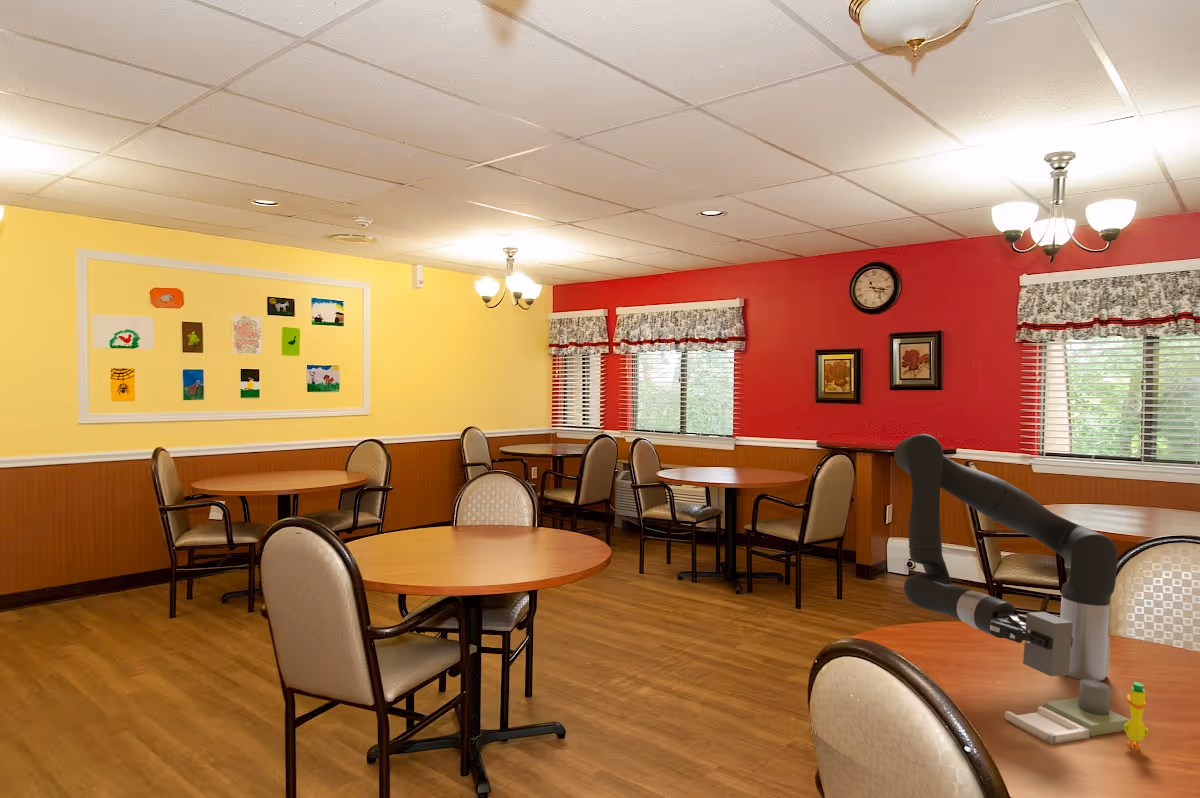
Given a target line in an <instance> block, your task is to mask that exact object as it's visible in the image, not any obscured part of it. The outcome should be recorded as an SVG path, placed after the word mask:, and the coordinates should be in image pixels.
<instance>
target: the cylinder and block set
mask: <svg viewBox="0 0 1200 798" xmlns="http://www.w3.org/2000/svg"><path fill="white" fill-rule="evenodd" d="M1111 690H1112V688H1111V686H1110V685H1108V683H1105V682H1102V681H1095V680H1089V679H1083V680H1082V679H1079V692H1078V693H1079V694H1078V696H1077V697H1073V698H1064V699H1057V700H1050V701H1044V704H1043V706H1037V712H1030V713H1024V714H1016V713H1014V712H1012V711H1010V710H1006V711H1005V713H1004V720H1006V721H1007V722H1009V721H1010V722H1009V723H1012V724H1013V725H1014V726H1015V725H1016V727H1019V728H1021V729H1023V730H1024V731H1026V732H1028V733H1030V734H1031V735H1034V736H1036V737H1038V738H1039V739H1041V740H1043V741H1044V742H1046V743H1048V744H1049V745H1054V744H1055V745H1056V744H1061V743H1068V742H1074V741H1079V740H1085V739H1086V740H1087V739H1090V736H1091V737H1093V736H1100V735H1105V734H1111V733H1116V732H1122V731H1124V724H1125V723H1126V722H1127V721H1129V720H1130V719H1131V718H1129V717H1126V716H1124V715H1121V714H1119V713H1116V712H1114V711H1112V710H1111V709H1110V707H1111V703H1110V702H1111ZM1124 732H1125V731H1124Z"/></svg>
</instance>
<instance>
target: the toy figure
mask: <svg viewBox="0 0 1200 798" xmlns="http://www.w3.org/2000/svg"><path fill="white" fill-rule="evenodd" d="M1144 687H1145V686H1144V684H1143V683H1141V682H1138V681H1133V682H1132V686H1130V693H1128V694H1127V695H1126V697H1127V702H1128V704H1129V710H1130V718H1129V719H1130V720H1129V721H1127V722H1126V723H1125V724H1124V732H1125V734H1126V736H1127V738H1129V739H1128V740H1127V742H1126V745H1127V747H1128V748H1130V749H1132V750H1134V749H1135V750H1137V751H1140V750H1141V749H1140V748H1141V744H1140V742H1141V741H1143V739H1145V737H1148V736H1149V732H1150V731H1149V728H1147V727H1146V726H1145V724H1144V722H1143V721H1142V719H1143V714H1144V710H1145V707H1146V706H1147V703H1146V701H1145V699H1146V690H1145V689H1144Z"/></svg>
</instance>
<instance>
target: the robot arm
mask: <svg viewBox="0 0 1200 798" xmlns="http://www.w3.org/2000/svg"><path fill="white" fill-rule="evenodd" d="M940 442H941V441H939V440H938V439H937V438H936V437H935V436H932V435H930V434H927V433H921V434H916V435H912V436H910V437H907V438H905V439H903V440H901V441H900V442H899V443H898V444H897V445H896V447H895V448H894V449H895V450H894V453H893V454H894V460H895V463H896V464H897V466H898V467H899V468H900V469H901V470H902V471H904V472H905V473H907V474H909V475H910V480H911V504H910V509H909V517H908V529H907V530H908V533H907V534H908V548H909V559H910V560H911V562H914V563H917V564H919V565H920V564H921V565H922V566H923V569H924V570H923V571H924V572H925V574H914V575H911V576H909V577H907V579H906V580H904V584H903V591H904V594H905V595H904V596H905V597H906V598H907V600H908V602H910V603H911V604H913V605H914V606H916V607H918V608H920V609H921V608H922V609H925V610H929V611H932V612H936V613H941V614H944V615H945V614H946V615H948V616H950V617H952V618H954V619H957V620H959V621H960V622H961V621H962V622H963V623H965V624H967V625H968V626H970V627H972V628H974V629H977V630H979V631H981V632H983V633H986V634H987V635H990V636H993V637H995V638H997V639H1006V640H1009V641H1012V642H1016V643H1018V644H1021V643H1022V642H1024V643H1025V642H1026V643H1033V644H1036V645H1038V646H1040V647H1043V648H1045V649H1052V642H1053V640H1052V638H1050V637H1048V636H1045V635H1043V634H1040V633H1038V632H1035V631H1034V632H1033V630H1031V629H1029V628H1027V627H1026V618H1027V615H1024V614H1020V613H1019V612H1018V611H1017V609H1016V607H1015V606H1014V605H1013V604H1012V603H1011V602H1010V601H1009V602H1008V601H1007V600H1006V601H1005V600H1003V599H1000V598H998V597H995V596H991V595H990V594H986V593H984V592H980V591H976V590H972V589H969V588H967V587H964V586H962V585H958V584H953V583H952V579H951V577H950V574H949V571H948V568H947V565H946V562H945V560H944V556H943V544H942V532H941V512H940V511H941V510H940V507H941V506H940V505H941V503H940V502H941V489H942V490H944V491H946V492H947V493H949V494H951V496H952V497H955V498H956V499H958V500H960V502H962V503H964V504H966V505H968V506H969V507H970V508H973V509H974V510H976V511H978V512H979V513H981V514H982V515H984V516H986V517H988V518H990V519H991V520H992V521H995V522H997V523H998V524H1001V525H1002V526H1005V527H1007V528H1009V529H1012V530H1013V531H1016V532H1018V533H1021V534H1024V535H1027V536H1029V537H1031V538H1033V539H1035V540H1037V541H1039V542H1040V543H1042V544H1043V545H1045V546H1046V547H1048V548H1049V549H1050V550H1052V551H1053V552H1054V553H1056V554H1058V555H1059V556H1061V557H1062V558H1063V559H1064V560H1066V561H1067V562H1068V563H1070V569H1069V577H1068V579H1067V580H1068V581H1066V582H1064V583H1063V584H1062V586H1061V600H1060V616H1059V617H1060V618H1063V619H1065V620H1068V621H1071V622H1073V627H1072V640H1071V653H1070V666H1069V675H1067V676H1068V677H1071V678H1074V679H1079V680H1083V679H1089V680H1095V681H1099V682H1102V681H1104V680H1105V679H1106V677H1109V676H1108V675H1109V663H1110V662H1109V661H1110V646H1111V645H1110V643H1111V635H1109V626H1110V625H1109V621H1110V607H1111V606H1110V605H1111V604H1110V603H1111V597H1112V595H1113V594H1114V592H1115V587H1116V582H1117V572H1118V563H1119V562H1118V549H1117V545H1116V544H1115V543H1114V541H1113V540H1112V539H1111V538H1110V537H1108V536H1107V535H1104V534H1103V533H1100V532H1098V531H1096V530H1093V529H1091V528H1088V527H1085V526H1082V525H1080V524H1078V523H1076V522H1074V521H1073V522H1072V521H1070V520H1068V519H1066V518H1064V517H1062V516H1059V515H1058V514H1056V513H1054V512H1052V511H1050V510H1049V509H1048V508H1046V507H1045V506H1043V504H1041V503H1040V502H1039V501H1038V500H1036V499H1035V498H1033V497H1032V496H1030V495H1029V494H1028V493H1026V492H1025V491H1023V490H1022V489H1020V488H1018V487H1016V486H1014V485H1013V484H1011V483H1009V482H1007V481H1006V480H1004V479H1002V478H999V477H998V476H995V475H993V474H990V473H987V472H985V471H981V470H978V469H975V468H972V467H969V466H966V465H963V464H960V463H958V462H956V461H954V460H952V459H950V458H949V457H947V456H946V455H944V449H943V446H942V444H941V443H940Z"/></svg>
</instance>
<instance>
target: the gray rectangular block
mask: <svg viewBox="0 0 1200 798" xmlns="http://www.w3.org/2000/svg"><path fill="white" fill-rule="evenodd" d="M1026 616H1027V618H1026V627H1027V628H1029V629H1031V630H1033V632H1034V631H1035V632H1038V633H1040V634H1043V635H1045V636H1048V637H1050V638H1052V640H1053V642H1052V649H1045V648H1043V647H1040V646H1038V645H1036V644H1033V643H1026V642H1024V647H1023V660H1022V664H1023V665H1025V666H1027V667H1029V668H1032V669H1033V670H1036V671H1039V672H1041V673H1043V674H1045V675H1047V676H1049V677H1057V676H1058V677H1059V676H1068V675H1069V666H1070V653H1071V640H1072V627H1073V622H1071V621H1068V620H1065V619H1063V618H1060V616H1058V615H1057V616H1056V615H1054V614H1052V613H1051V614H1050V613H1048V612H1045V611H1035V612H1034V611H1033V612H1026Z"/></svg>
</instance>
